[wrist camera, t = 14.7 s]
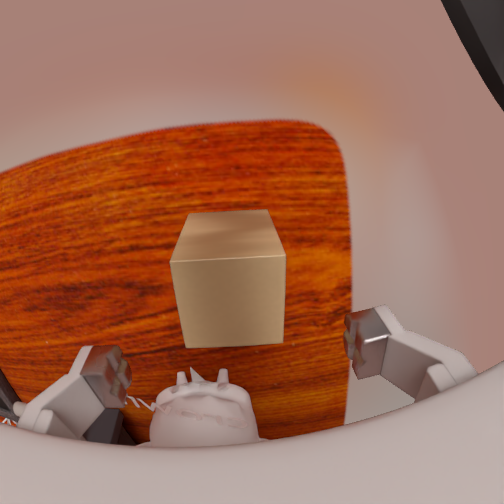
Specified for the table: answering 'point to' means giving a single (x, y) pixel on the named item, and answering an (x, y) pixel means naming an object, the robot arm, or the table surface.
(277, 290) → the block
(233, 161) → the table surface
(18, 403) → the open drawer with handle
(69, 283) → the table surface
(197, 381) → the figurine
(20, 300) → the table surface
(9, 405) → the picture frame
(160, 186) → the table surface
